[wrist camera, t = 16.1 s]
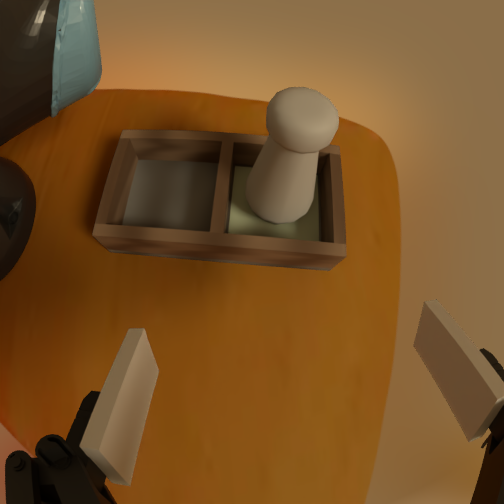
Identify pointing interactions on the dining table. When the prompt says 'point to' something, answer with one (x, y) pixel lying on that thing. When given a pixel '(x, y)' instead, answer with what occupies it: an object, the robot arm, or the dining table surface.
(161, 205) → the wooden compartment tray
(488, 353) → the robot arm
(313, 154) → the salt shaker
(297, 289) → the dining table surface
